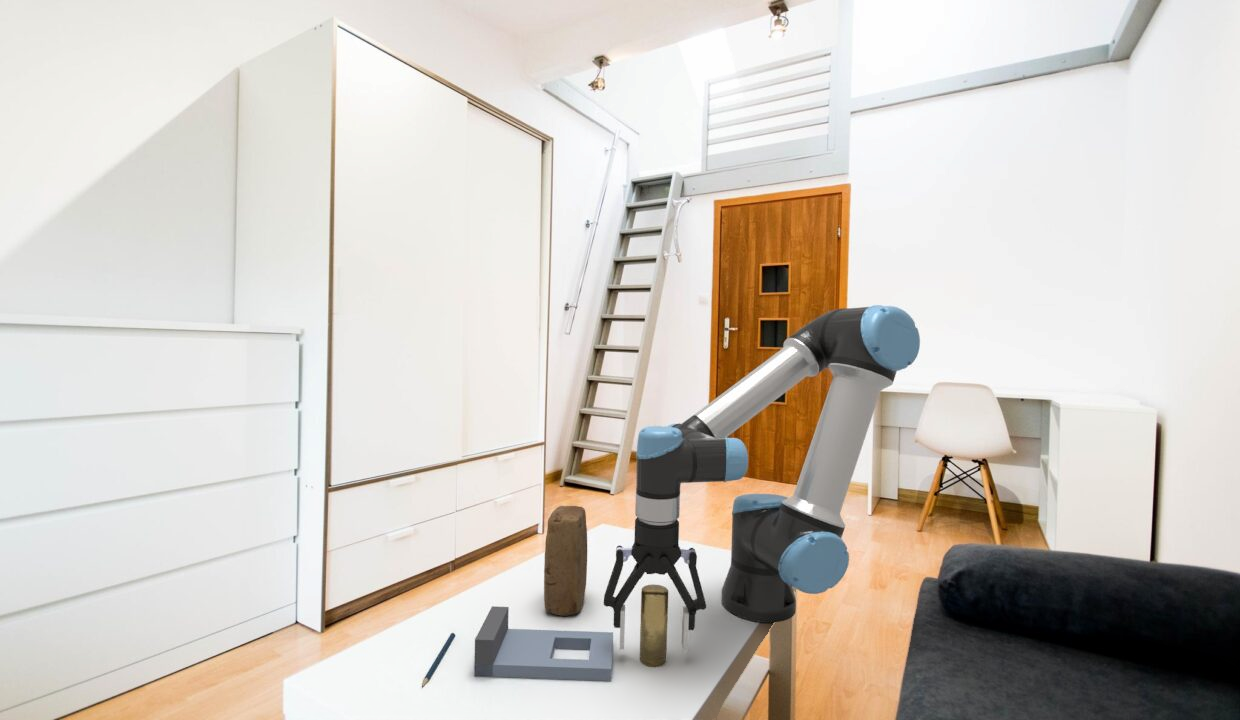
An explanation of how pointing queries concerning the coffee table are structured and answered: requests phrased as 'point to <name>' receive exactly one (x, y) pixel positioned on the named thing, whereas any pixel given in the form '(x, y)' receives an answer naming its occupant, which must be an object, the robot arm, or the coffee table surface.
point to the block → (565, 561)
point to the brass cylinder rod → (653, 625)
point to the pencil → (438, 659)
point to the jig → (539, 651)
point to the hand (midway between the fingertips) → (653, 646)
